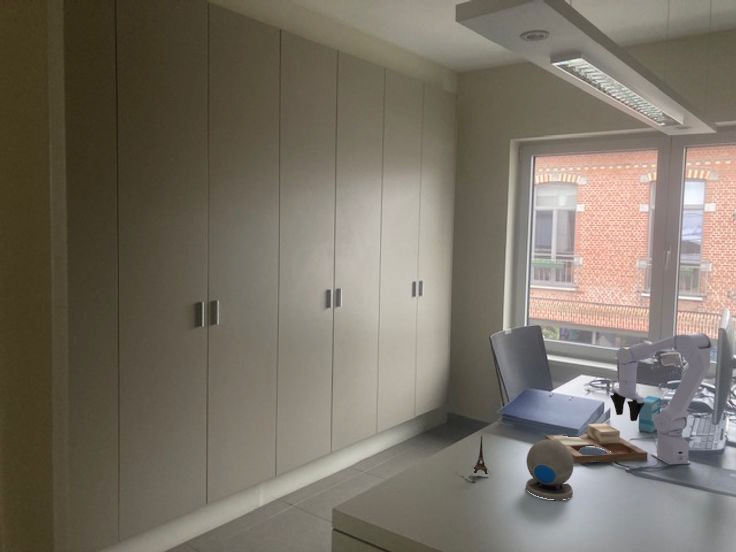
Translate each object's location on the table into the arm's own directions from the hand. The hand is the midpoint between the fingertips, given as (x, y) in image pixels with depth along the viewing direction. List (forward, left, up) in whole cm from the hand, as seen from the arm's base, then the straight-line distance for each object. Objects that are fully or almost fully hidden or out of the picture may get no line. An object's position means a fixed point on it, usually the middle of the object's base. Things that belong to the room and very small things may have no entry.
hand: (626, 417), depth 213 cm
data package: (+14, -19, -10) cm, 26 cm away
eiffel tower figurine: (-19, +63, -10) cm, 66 cm away
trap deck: (-6, +16, -9) cm, 19 cm away
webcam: (-35, +48, -10) cm, 60 cm away
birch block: (-1, +10, -7) cm, 12 cm away
